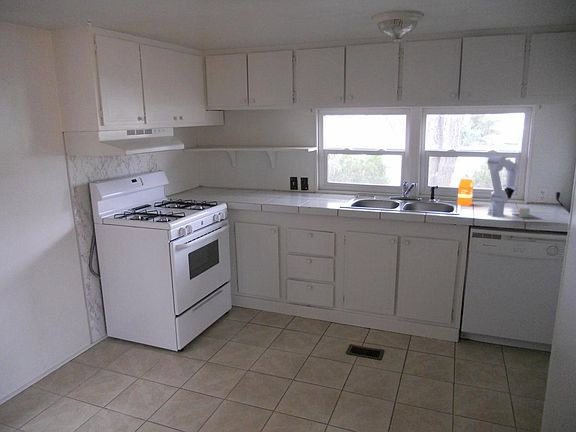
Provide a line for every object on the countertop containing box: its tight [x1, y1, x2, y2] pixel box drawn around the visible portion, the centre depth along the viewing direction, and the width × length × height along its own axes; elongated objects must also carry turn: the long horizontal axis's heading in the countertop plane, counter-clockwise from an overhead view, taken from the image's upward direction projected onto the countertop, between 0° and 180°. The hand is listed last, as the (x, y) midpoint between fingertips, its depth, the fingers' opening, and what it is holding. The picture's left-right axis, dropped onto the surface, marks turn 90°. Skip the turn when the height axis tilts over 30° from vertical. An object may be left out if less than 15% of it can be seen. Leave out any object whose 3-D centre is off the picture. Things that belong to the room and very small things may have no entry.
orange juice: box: [457, 178, 474, 207], centre depth 345 cm, size 8×9×20 cm
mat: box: [511, 213, 542, 221], centre depth 302 cm, size 12×17×1 cm
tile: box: [518, 207, 530, 218], centre depth 301 cm, size 6×2×6 cm, turn 94°
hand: (508, 198), depth 315 cm, fingers closed
